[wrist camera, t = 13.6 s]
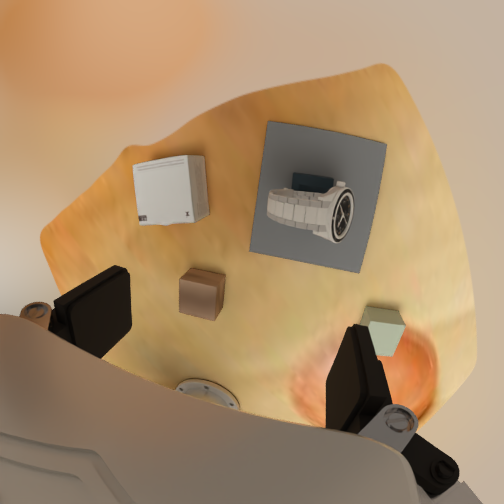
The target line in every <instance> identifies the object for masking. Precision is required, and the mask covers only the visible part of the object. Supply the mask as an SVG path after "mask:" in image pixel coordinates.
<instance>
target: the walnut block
mask: <svg viewBox="0 0 504 504" xmlns="http://www.w3.org/2000/svg"><path fill="white" fill-rule="evenodd" d="M225 277H226V275H223V274H218V273H213V272H208V271H203V270H198V269H194V268H191V269H190V270H188V271H187V272H186V273H185V274H184V275H183V276H182V277H181V278H180V279H179V312H180V313H184V314H188V315H192V316H196V317H200V318H204V319H208V320H212V321H215V319H216V318H217V316H218V314H219V313H220V311H221V310H222V308H223V301H224V289H225Z"/></svg>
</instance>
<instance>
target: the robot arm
mask: <svg viewBox="0 0 504 504" xmlns="http://www.w3.org/2000/svg"><path fill="white" fill-rule="evenodd" d="M54 307H55V308H54V309H53V310H52V309H51V306H50V305H49V304H47V303H44V302H33V303H30V304H28V305H26V306H25V307H24V308H23V309H22V310H21V313H20V316H19V317H18V316H13V315H8V314H0V504H482V502H481V501H480V500H479V499H478V498H477V496H476V495H475V494H474V493H473V491H472V490H471V489H470V488H469V487H468V485H467V484H466V483H465V482H464V481H463V482H462V483H460V482H459V481H458V477H459V468H458V465H457V463H456V462H455V461H454V460H453V459H452V458H451V457H449V456H448V455H446V454H445V453H444V452H442V451H441V450H439V449H438V448H436V447H435V446H433V445H432V444H431V443H429V442H428V441H426V440H425V439H424V438H422V437H421V436H419V435H418V434H417V433H415V432H416V431H417V428H418V420H417V417H416V415H415V414H414V413H413V412H412V411H411V410H410V409H408V408H407V407H405V406H402V405H398V404H393V403H392V399H391V395H390V391H389V387H388V383H387V380H386V376H385V372H384V369H383V365H382V363H381V361H380V360H378V359H377V356H376V352H375V349H374V345H373V342H372V338H371V335H370V332H369V328H368V326H363V325H358V324H354V325H353V326H352V327H348V328H347V330H346V332H345V335H344V338H343V340H342V343H341V345H340V348H339V350H338V353H337V355H336V358H335V360H334V363H333V365H332V367H331V370H330V372H329V374H328V377H327V380H326V428H322V427H316V426H311V425H305V424H300V423H294V422H289V421H284V420H279V419H274V418H269V417H265V416H260V415H256V414H252V413H248V412H244V411H240V406H239V404H238V401H237V400H236V399H235V397H234V396H233V395H232V394H231V393H230V392H228V391H227V390H226V389H224V388H223V387H221V386H219V385H217V384H215V383H212V382H209V381H205V380H200V379H189V380H185V381H183V382H181V383H180V384H179V385H178V386H177V388H176V390H173V389H170V388H167V387H165V386H162V385H160V384H157V383H154V382H152V381H149V380H147V379H144V378H142V377H140V376H137V375H135V374H133V373H130V372H128V371H126V370H123V369H121V368H119V367H117V366H115V365H112V364H110V363H108V362H106V361H104V360H102V359H101V358H102V357H103V356H104V355H105V354H106V353H107V352H108V351H109V350H110V349H111V348H112V347H113V346H114V345H115V344H116V343H117V342H118V341H120V340H121V339H122V338H123V337H124V336H125V335H126V334H127V333H128V332H129V331H130V329H131V327H132V314H131V292H130V274H129V273H128V271H127V269H126V268H123V267H120V266H116V265H114V266H112V267H110V268H108V269H107V270H105V271H103V272H101V273H100V274H98V275H96V276H94V277H93V278H91V279H89V280H87V281H86V282H84V283H82V284H81V285H79V286H77V287H76V288H74V289H72V290H71V291H69V292H67V293H66V294H64V295H62V296H61V297H59V298H57V299H56V300H54Z"/></svg>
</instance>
